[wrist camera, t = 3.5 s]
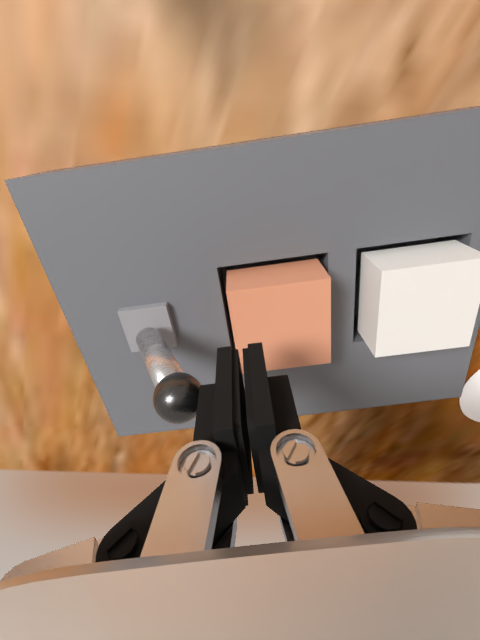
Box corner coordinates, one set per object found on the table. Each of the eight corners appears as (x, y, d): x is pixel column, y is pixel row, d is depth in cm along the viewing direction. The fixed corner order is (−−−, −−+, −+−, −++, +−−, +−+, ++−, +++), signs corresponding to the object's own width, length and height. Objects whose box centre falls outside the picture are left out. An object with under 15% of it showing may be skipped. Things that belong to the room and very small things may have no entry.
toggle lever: (159, 312, 16) (206, 382, 11) (168, 342, 17) (215, 420, 12) (122, 324, 16) (153, 403, 11) (133, 355, 16) (167, 443, 11)
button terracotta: (317, 258, 16) (331, 278, 14) (318, 335, 18) (330, 362, 16) (226, 270, 16) (225, 291, 14) (238, 345, 18) (239, 374, 16)
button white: (455, 239, 16) (491, 256, 14) (440, 320, 18) (469, 346, 16) (361, 252, 16) (382, 271, 14) (357, 330, 18) (374, 357, 16)
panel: (476, 106, 16) (545, 98, 12) (430, 362, 23) (465, 401, 20) (45, 171, 17) (-2, 181, 13) (132, 397, 24) (116, 441, 21)
